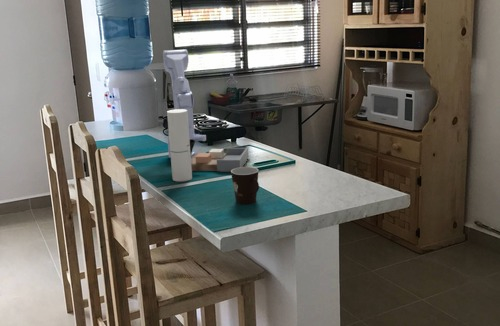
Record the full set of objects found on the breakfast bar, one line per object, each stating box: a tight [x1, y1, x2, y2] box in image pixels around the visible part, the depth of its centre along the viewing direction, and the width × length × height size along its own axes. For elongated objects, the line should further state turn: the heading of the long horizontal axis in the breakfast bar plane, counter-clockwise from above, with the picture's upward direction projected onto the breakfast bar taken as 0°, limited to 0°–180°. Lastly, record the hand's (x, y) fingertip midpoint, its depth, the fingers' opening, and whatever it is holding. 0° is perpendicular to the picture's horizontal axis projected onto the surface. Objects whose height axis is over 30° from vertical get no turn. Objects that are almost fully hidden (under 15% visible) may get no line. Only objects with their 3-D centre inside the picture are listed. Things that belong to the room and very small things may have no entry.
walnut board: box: [191, 152, 227, 172], centre depth 212 cm, size 13×17×2 cm
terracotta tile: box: [195, 152, 211, 163], centre depth 208 cm, size 5×5×2 cm
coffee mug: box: [230, 166, 260, 205], centre depth 167 cm, size 12×9×10 cm
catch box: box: [216, 147, 249, 173], centre depth 210 cm, size 9×19×4 cm, turn 170°
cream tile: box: [208, 148, 225, 158], centre depth 214 cm, size 5×5×2 cm
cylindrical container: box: [166, 109, 193, 182], centre depth 192 cm, size 7×7×25 cm
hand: (188, 158), depth 209 cm, fingers closed
